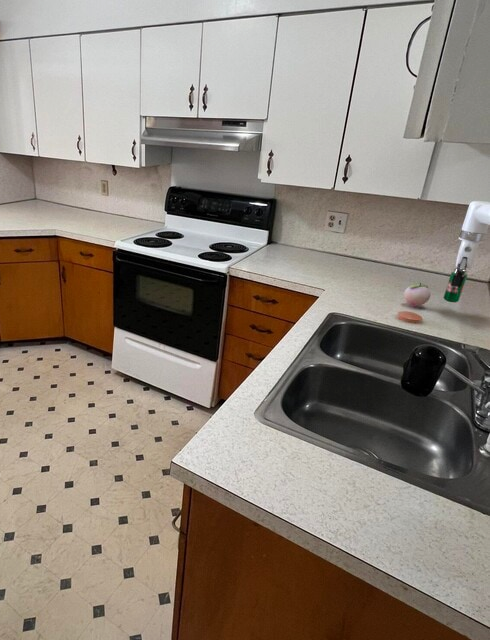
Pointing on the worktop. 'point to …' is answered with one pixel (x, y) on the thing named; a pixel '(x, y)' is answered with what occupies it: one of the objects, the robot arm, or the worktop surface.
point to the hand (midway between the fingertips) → (456, 283)
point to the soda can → (454, 289)
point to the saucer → (409, 317)
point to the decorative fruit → (417, 294)
